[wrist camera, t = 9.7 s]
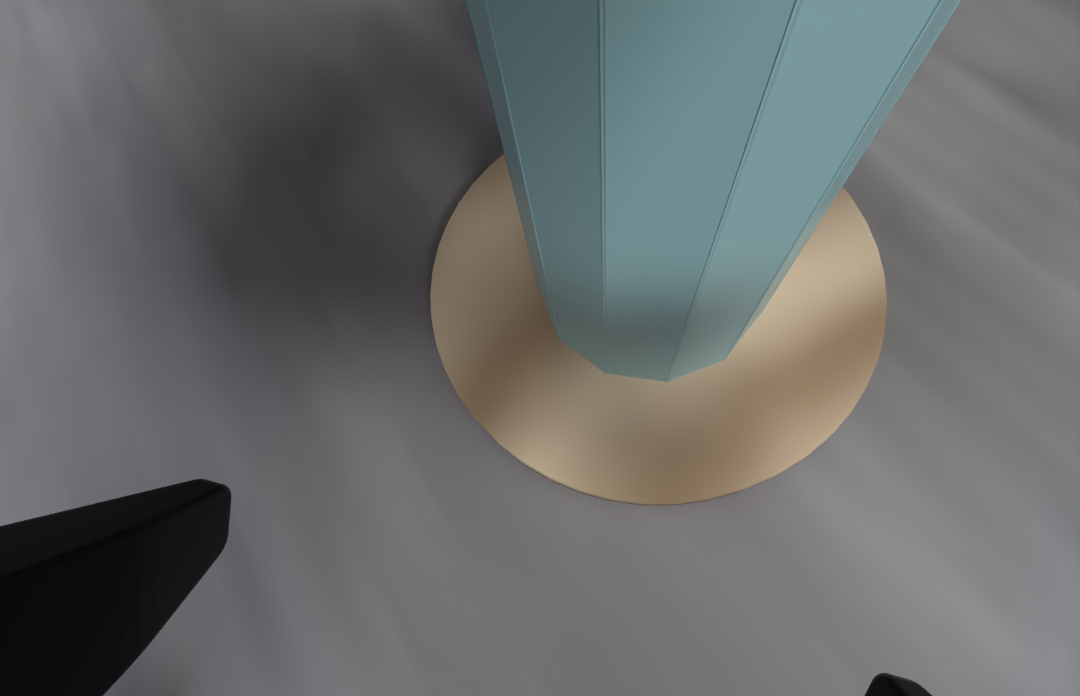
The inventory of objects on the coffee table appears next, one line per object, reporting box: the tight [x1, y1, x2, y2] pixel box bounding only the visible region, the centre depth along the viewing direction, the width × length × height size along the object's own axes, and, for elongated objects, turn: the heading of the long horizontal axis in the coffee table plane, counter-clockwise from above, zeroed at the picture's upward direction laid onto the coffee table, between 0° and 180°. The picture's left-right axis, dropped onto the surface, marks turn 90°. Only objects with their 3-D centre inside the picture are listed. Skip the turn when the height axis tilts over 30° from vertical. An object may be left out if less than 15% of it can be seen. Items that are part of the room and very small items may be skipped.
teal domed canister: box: [465, 0, 961, 382], centre depth 12 cm, size 7×7×13 cm
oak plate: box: [430, 154, 887, 505], centre depth 19 cm, size 15×15×1 cm
